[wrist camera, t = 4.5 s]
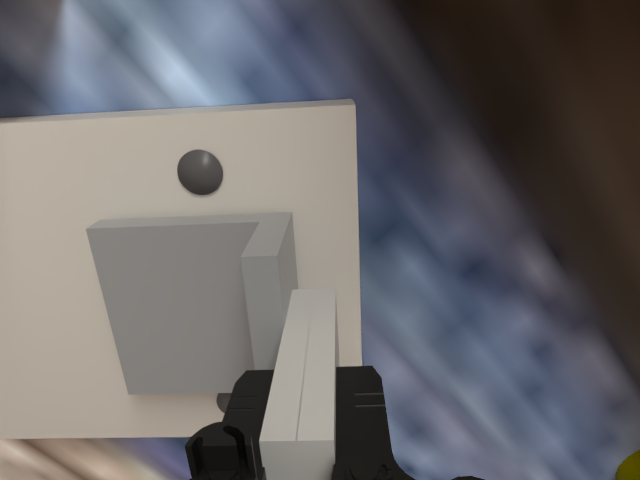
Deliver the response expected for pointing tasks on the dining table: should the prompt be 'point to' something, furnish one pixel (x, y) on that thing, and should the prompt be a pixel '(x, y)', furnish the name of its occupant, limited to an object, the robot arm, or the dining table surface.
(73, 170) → the socket plate
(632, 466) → the element tile
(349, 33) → the dining table surface
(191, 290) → the shutter
